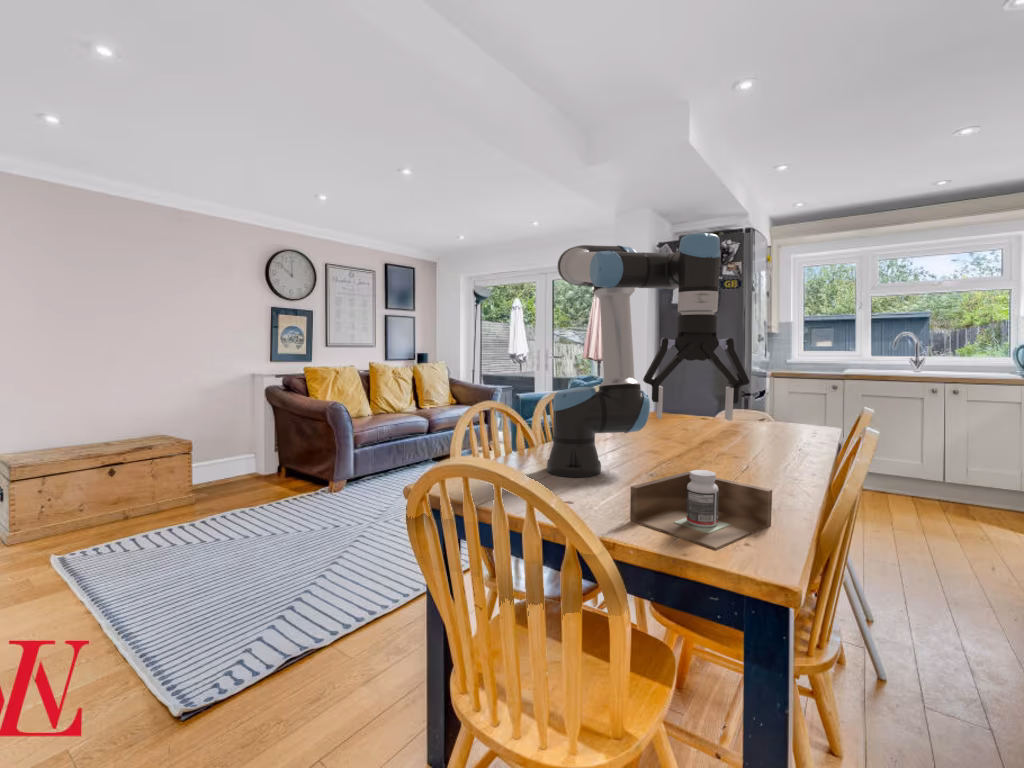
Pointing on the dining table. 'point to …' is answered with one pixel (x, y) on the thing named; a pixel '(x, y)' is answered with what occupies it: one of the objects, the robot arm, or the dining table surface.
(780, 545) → the dining table surface
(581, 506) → the dining table surface
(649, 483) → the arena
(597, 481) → the dining table surface
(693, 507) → the pill bottle
